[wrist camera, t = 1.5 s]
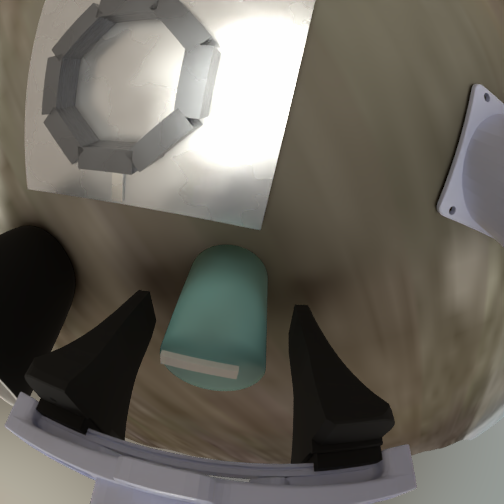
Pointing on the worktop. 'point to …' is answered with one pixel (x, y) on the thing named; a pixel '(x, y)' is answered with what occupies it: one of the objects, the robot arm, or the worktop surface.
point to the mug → (30, 303)
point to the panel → (163, 102)
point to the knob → (220, 321)
